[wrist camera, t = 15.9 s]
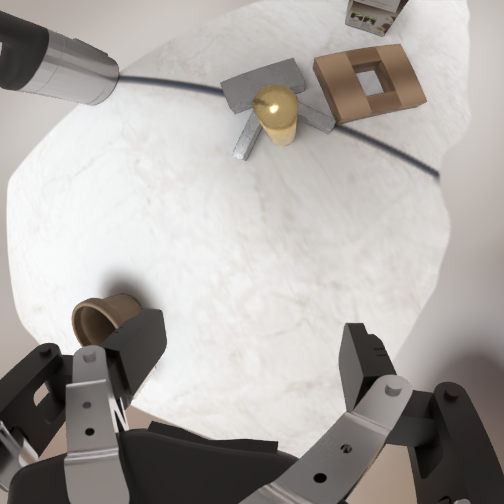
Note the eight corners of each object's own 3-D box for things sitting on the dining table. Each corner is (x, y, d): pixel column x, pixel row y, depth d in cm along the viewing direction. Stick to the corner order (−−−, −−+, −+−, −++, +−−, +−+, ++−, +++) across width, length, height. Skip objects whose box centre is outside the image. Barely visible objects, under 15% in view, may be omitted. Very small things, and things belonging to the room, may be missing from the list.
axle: (264, 125, 35) (246, 92, 20) (289, 117, 34) (288, 78, 19) (273, 149, 36) (261, 131, 21) (299, 141, 35) (305, 117, 20)
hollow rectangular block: (312, 68, 32) (314, 57, 28) (391, 53, 29) (400, 43, 25) (336, 125, 34) (341, 119, 30) (415, 107, 31) (427, 101, 27)
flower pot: (94, 306, 47) (63, 330, 38) (118, 267, 44) (82, 288, 34) (137, 347, 48) (111, 378, 39) (166, 313, 45) (139, 345, 35)
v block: (213, 95, 35) (206, 88, 31) (305, 64, 32) (306, 54, 28) (239, 163, 37) (234, 162, 34) (334, 132, 34) (338, 128, 31)
